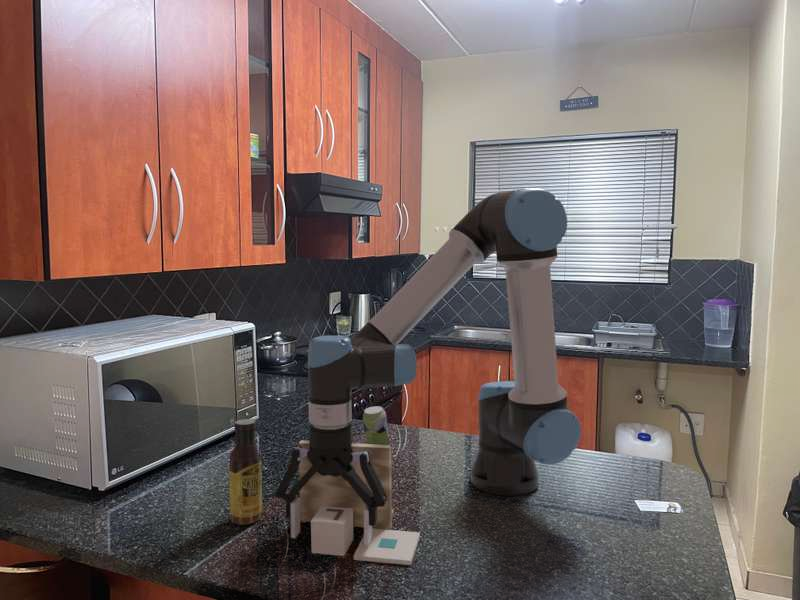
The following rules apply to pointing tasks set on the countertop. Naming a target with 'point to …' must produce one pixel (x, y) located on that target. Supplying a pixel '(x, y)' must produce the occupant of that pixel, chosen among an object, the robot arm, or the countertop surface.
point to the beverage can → (376, 426)
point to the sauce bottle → (245, 476)
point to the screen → (347, 488)
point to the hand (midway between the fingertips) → (331, 538)
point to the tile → (389, 547)
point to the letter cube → (332, 530)
